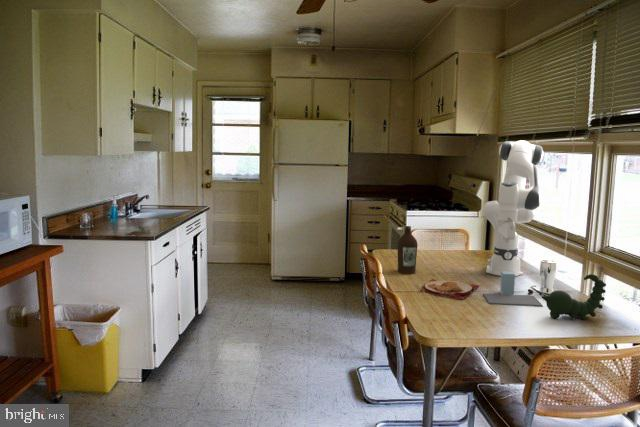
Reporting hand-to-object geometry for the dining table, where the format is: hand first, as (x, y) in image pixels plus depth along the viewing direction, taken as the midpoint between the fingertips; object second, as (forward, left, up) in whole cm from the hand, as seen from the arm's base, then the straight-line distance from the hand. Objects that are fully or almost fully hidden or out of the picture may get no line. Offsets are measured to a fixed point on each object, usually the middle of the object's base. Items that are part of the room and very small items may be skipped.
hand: (505, 245), depth 235 cm
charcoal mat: (+18, 0, -21) cm, 28 cm away
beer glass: (+2, +19, -21) cm, 29 cm away
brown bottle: (-25, -45, -21) cm, 56 cm away
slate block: (+8, 0, -21) cm, 23 cm away
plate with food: (+6, -27, -22) cm, 35 cm away
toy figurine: (+38, +18, -21) cm, 47 cm away
